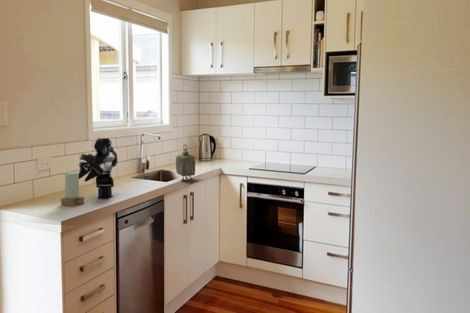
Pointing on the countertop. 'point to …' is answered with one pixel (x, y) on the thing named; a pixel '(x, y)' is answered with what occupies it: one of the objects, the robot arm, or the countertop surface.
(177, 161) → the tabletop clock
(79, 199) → the walnut block
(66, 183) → the sage green block
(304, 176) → the countertop surface
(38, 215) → the countertop surface
